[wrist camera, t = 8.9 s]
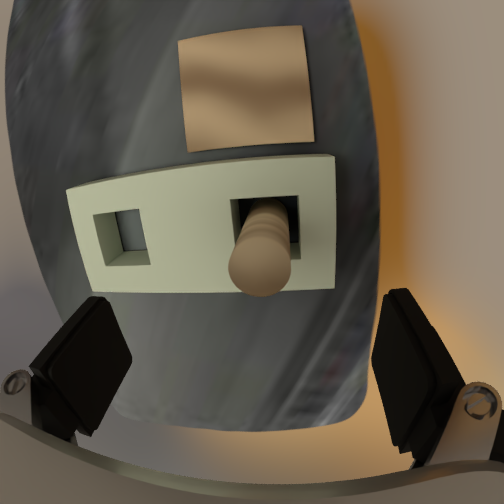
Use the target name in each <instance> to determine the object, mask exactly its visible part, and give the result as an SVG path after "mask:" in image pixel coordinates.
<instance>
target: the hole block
mask: <svg viewBox="0 0 504 504" xmlns="http://www.w3.org/2000/svg"><path fill="white" fill-rule="evenodd" d="M66 193H67V198H68V203H69V208H70V212H71V217H72V221H73V225H74V229H75V233H76V237H77V241H78V245H79V249H80V252H81V256H82V259H83V262H84V266H85V269H86V272H87V275H88V279H89V282H90V285H91V288H92V290H93V291H96V292H143V293H209V292H242V291H241V290H239V289H238V288H237V287H236V286H235V285H234V283H233V282H232V280H231V278H230V276H229V272H228V263H229V259H230V257H231V254H232V252H233V249H234V247H235V245H236V242H237V240H238V237H239V235H240V233H241V223H240V214H239V204H238V199H242V198H256V197H273V196H292V195H297V211H298V235H299V243H290V257H291V275H290V278H289V281H288V283H287V284H286V285H285V287H284V288H283V289H281V290H280V291H287V290H310V289H329V288H334V287H335V262H336V178H335V157H334V156H332V155H329V154H300V155H279V156H264V157H251V158H239V159H229V160H219V161H210V162H202V163H194V164H186V165H179V166H172V167H166V168H159V169H153V170H147V171H141V172H136V173H130V174H125V175H120V176H115V177H110V178H105V179H101V180H96V181H91V182H87V183H84V184H81V185H79V186H76V187H73V188H70V189H67V190H66ZM131 209H139V211H140V216H141V221H142V226H143V231H144V236H145V241H146V245H147V250H141V251H123V248H122V244H121V240H120V235H119V231H118V226H117V222H116V217H115V212H116V211H123V210H131Z"/></svg>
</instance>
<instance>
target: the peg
mask: <svg viewBox="0 0 504 504" xmlns="http://www.w3.org/2000/svg"><path fill="white" fill-rule="evenodd" d="M228 272H229V276H230V278H231V280H232V282H233V283H234V285H235V286H236V287H237V288H238V289H239V290H241V291H242V292H244V293H246V294H248V295H252V296H257V297H265V296H270V295H273V294H275V293H277V292H279V291H280V290H281V289H283V288H284V287H285V285H286V284H287V283H288V281H289V278H290V275H291V257H290V240H289V225H288V213H287V210H286V208H285V206H284V205H283V204H282V203H281V202H280V201H279V200H277V199H274V198H262V199H260V200H258V201H256V202H255V203H254V204H253V205H252V207H251V209H250V211H249V214H248V216H247V218H246V221H245V223H244V226H243V228H242V230H241V233H240V235H239V237H238V240H237V242H236V245H235V247H234V249H233V252H232V254H231V257H230V259H229V263H228Z"/></svg>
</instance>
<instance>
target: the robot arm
mask: <svg viewBox="0 0 504 504" xmlns="http://www.w3.org/2000/svg"><path fill="white" fill-rule="evenodd" d="M371 361H372V367H373V371H374V374H375V378H376V381H377V384H378V388H379V392H380V396H381V399H382V403H383V407H384V411H385V415H386V419H387V423H388V427H389V431H390V435H391V439H392V443H393V445H394V446H398V447H399V453H400V454H402V453H406V452H410V451H411V452H412V456H413V458H414V461H413V463H412V465H411V466H410V468H409V470H405V471H400V472H395V473H390V474H385V475H380V476H374V477H368V478H361V479H354V480H346V481H335V482H325V483H313V484H312V483H311V484H282V485H281V484H246V483H233V482H222V481H213V480H206V479H198V478H192V477H186V476H180V475H174V474H169V473H165V472H160V471H156V470H151V469H147V468H143V467H140V466H135V465H132V464H129V463H125V462H122V461H119V460H115V459H112V458H109V457H106V456H103V455H100V454H97V453H94V452H91V451H89V450H86V449H83V448H81V447H79V446H78V444H77V440H76V436H75V433H74V432H75V431H76V429H77V430H78V431H79V433H81V434H84V435H87V436H90V437H91V436H92V434H93V432H94V430H97V429H98V427H99V425H100V423H101V421H102V419H103V417H104V415H105V413H106V411H107V409H108V407H109V405H110V403H111V401H112V400H113V398H114V396H115V394H116V392H117V390H118V388H119V386H120V384H121V383H122V381H123V379H124V377H125V375H126V373H127V371H128V370H129V368H130V366H131V364H132V355H131V353H130V351H129V348H128V346H127V344H126V341H125V339H124V337H123V334H122V332H121V330H120V327H119V325H118V322H117V320H116V317H115V315H114V312H113V309H112V307H111V304H110V302H109V301H107V300H106V298H105V297H97V296H91V297H89V298H88V299H87V300H86V301H85V302H84V303H83V304H82V305H81V306H80V307H79V308H78V309H77V311H76V312H75V313H74V314H73V315H72V316H71V317H70V318H69V319H68V320H67V322H66V323H65V324H64V325H63V326H62V328H60V330H59V331H58V332H57V333H56V334H55V335H54V337H53V338H52V339H51V340H50V341H49V342H48V344H47V345H46V346H45V347H44V348H43V349H42V351H41V352H40V353H39V354H38V356H37V357H36V358H35V359H34V361H33V362H32V363H31V364H30V365H29V367H30V369H31V370H32V372H33V373H34V375H33V377H31V375H30V374H29V372H28V371H26V370H21V369H20V370H16V371H14V372H11V373H10V374H9V375H8V376H7V377H6V378H5V379H4V380H3V382H2V384H1V388H0V504H504V410H502V401H501V397H500V395H499V393H498V392H497V391H496V390H495V389H494V388H493V387H492V386H491V385H488V384H486V383H483V382H472V383H470V384H467V385H466V384H465V382H464V380H463V378H462V376H461V374H460V372H459V371H458V369H457V367H456V365H455V363H454V361H453V359H452V357H451V356H450V354H449V352H448V351H447V349H446V347H445V345H444V343H443V342H442V340H441V338H440V337H439V335H438V333H437V332H436V330H435V329H434V327H433V326H431V324H430V323H429V321H428V319H427V318H426V316H425V314H424V313H423V311H422V310H421V308H420V306H419V305H418V303H417V302H416V300H415V299H414V297H413V296H412V294H411V293H410V291H409V290H408V289H407V288H399V289H391V290H390V291H389V292H388V294H385V295H384V297H383V302H382V307H381V313H380V318H379V324H378V329H377V334H376V338H375V343H374V348H373V352H372V357H371Z"/></svg>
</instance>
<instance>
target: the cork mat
mask: <svg viewBox="0 0 504 504" xmlns="http://www.w3.org/2000/svg"><path fill="white" fill-rule="evenodd" d="M178 50H179V65H180V78H181V91H182V102H183V112H184V123H185V132H186V141H187V150H188V152H195V151H202V150H210V149H219V148H228V147H237V146H248V145H260V144H275V143H293V142H314V131H313V118H312V107H311V96H310V86H309V77H308V68H307V60H306V52H305V45H304V38H303V31H302V26H275V27H262V28H251V29H242V30H234V31H227V32H221V33H215V34H209V35H204V36H199V37H194V38H189V39H185V40H180V41H178Z"/></svg>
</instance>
